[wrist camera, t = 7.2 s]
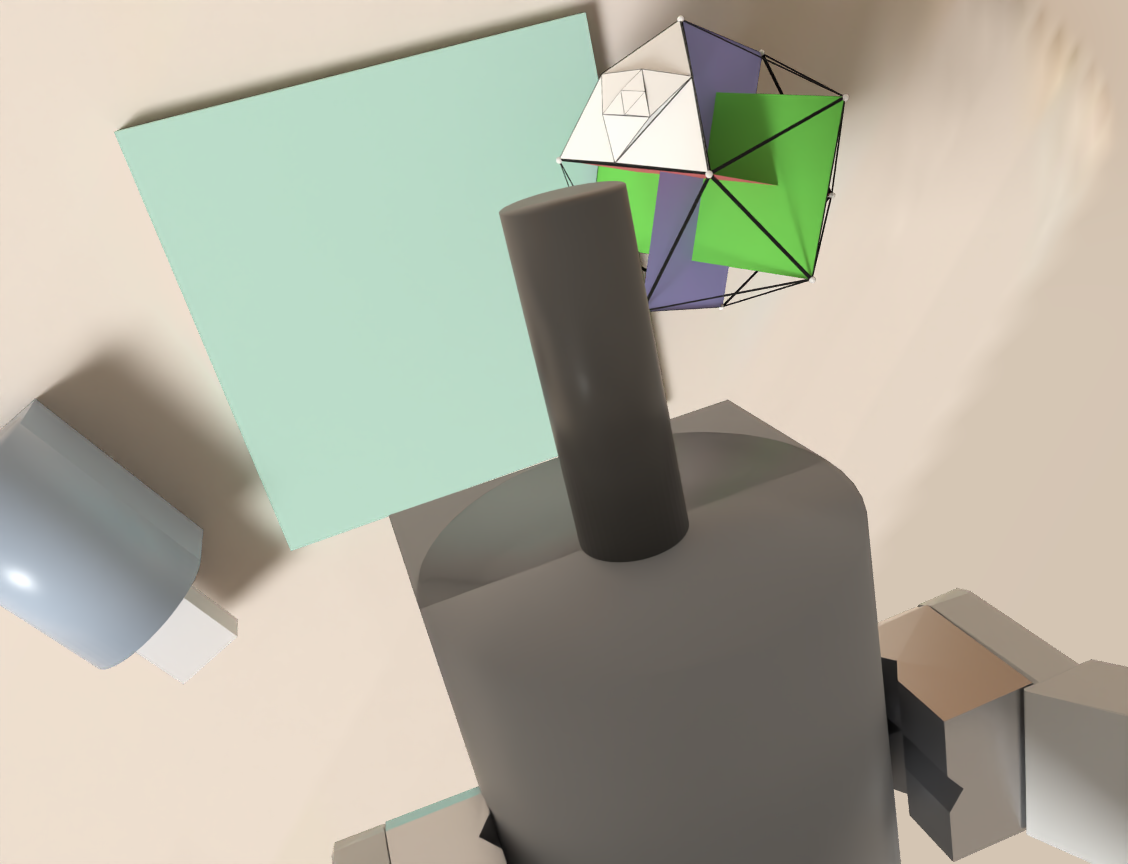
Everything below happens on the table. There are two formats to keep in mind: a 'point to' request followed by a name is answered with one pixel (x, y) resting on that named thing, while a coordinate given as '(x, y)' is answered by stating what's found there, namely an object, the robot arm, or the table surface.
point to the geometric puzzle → (711, 163)
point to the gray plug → (653, 600)
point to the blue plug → (99, 554)
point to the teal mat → (371, 266)
